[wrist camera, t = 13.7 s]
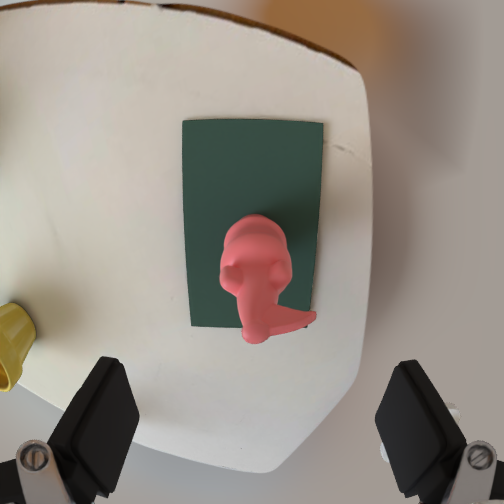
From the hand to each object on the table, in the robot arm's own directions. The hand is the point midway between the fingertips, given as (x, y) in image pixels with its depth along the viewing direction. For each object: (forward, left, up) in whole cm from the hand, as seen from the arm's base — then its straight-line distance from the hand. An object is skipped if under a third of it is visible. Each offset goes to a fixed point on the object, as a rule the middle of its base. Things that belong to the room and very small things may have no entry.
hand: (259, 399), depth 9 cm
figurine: (0, 0, -19) cm, 19 cm away
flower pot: (+33, +13, -19) cm, 40 cm away
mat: (0, 0, -19) cm, 19 cm away
